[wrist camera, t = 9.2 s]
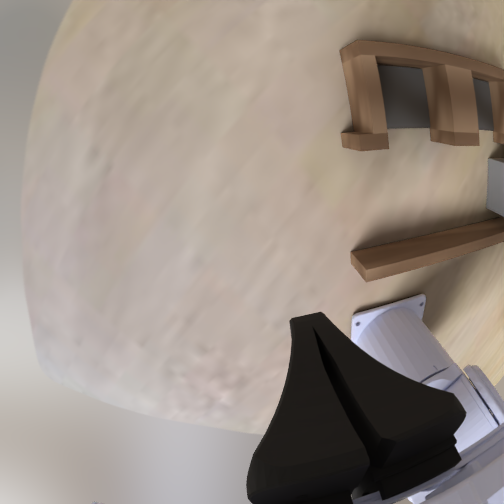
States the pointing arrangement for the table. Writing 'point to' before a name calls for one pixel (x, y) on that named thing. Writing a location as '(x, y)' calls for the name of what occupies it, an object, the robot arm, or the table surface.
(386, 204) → the table surface
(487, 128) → the box
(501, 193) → the slate block
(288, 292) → the table surface
